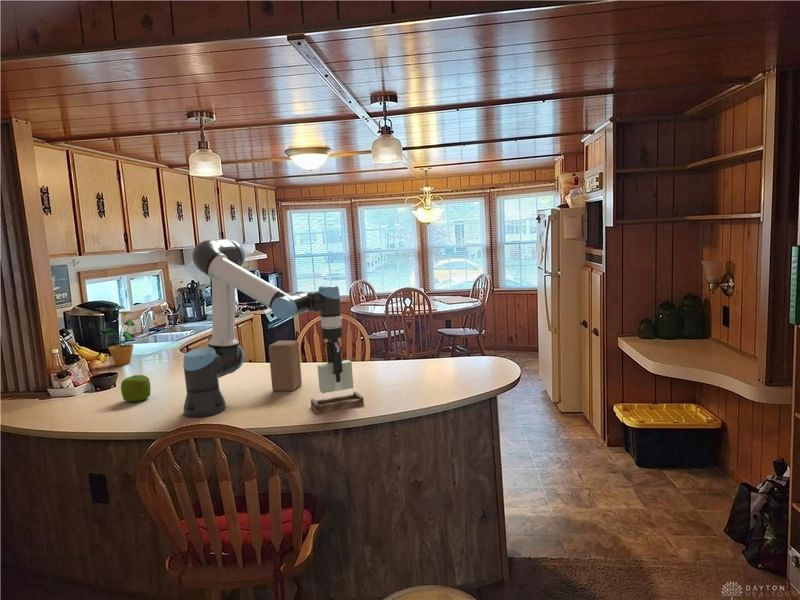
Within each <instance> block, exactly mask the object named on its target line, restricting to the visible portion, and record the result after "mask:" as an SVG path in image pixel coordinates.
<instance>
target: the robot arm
mask: <svg viewBox="0 0 800 600" xmlns="http://www.w3.org/2000/svg"><path fill="white" fill-rule="evenodd" d="M191 255H192V256H191V257H192V261H193V265H194V266H195V267H196V268H197V269H198V270H199V271H200V272H202V273H203V274H205V275H207V276H208V277H210V278H211V283H212V285H211V288H212V290H211V292H212V293H211V295H212V296H211V303H212V307H211V311H212V312H211V313H212V314H211V315H212V317H211V318H212V319H211V320H212V322H211V323H212V326H211V328H212V329H211V332H212V334H211V337H212V338H210V339H209V340H208V343H207V344H208V346H206V347H205V346H204V347H200V348H199V347H198V348H195V349H192V350H190V351H188V352H187V353H185V354H184V355H183V364H182V365H183V372H184V379H185V388H186V396H185V399H184V404H183V415H184V416H185V417H189V418H202V417H203V418H204V417H210V416H213V415H217V414H219V413H221V412H224V411H225V410H226V408H227V405H226V401H225V398H224V395H223V394H222V392H221V390H220V384H219V381H220V380H219V379H220V378H222V377H225V376H227V375H230V374H232V373H235V372H236V371H238V370H239V369H240V368H242V365H243V364H244V362H245V353H244V349H242V346H241V345H240V341H239V340H238V339H237V337H236V290H238V291H239V292H241V293H243V294H245V295H246V296H248V297H250V298H252V299H253V300H255V301H257V302H259V303H260V304H262V305H263V306H265V307H267V308H269V309H271V313H272V314H273V315H274V317H276V318H278V319H280V320H284V319H290V318H293V317H294V316H295V317H296V316H298V315H301V314H304V313H307V312H312V313H314V312H320V325H321V328H322V329H321V336H322V339H324V340H327V341H325V343H324V344H325V347H326V348H325V350H326V359H327V363H332V362H333V368H334V372H333V373H332V374H333V377H334V390H335V391H334V392H338V390H339V391H343V390H342V381H341V372H343V370H342V361H343V359H342V358H343V357H342V346H341V345H340V342H339V339H340V338H342V337H343V334H344V332H343V327H342V326H343V325H342V324H343V323H342V320H343V317H342V312H341V311H342V309H341V308H342V307H341V296H340V290H339V286H338V285H335V284H329V285H326V284H325V285H320V286H319V287H318V290H317V291H293V292H291V293H290V294H289V293H287V292H285V291H284V290H281V288H278V287H276V286H275V285H273V284H271V283H270V282H268V281H265V280H264V279H262V278H260V277H259V276H257V275H256V274H254V273H252V272H250V271H249V270H247V269H245V268H243V267H242V266H243V265H244V263H245V261H246V254H245V250H244V248H243V246H241V244H240V243H239V242H237V241H235V240H233V239H227V238H225V239H222V238H221V239H211V240H210V239H207V240H203V241H201V242H199V243H197V244H196V246H195V247H194V249H193V251H192V254H191Z"/></svg>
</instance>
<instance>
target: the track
mask: <svg viewBox="0 0 800 600" xmlns="http://www.w3.org/2000/svg"><path fill="white" fill-rule="evenodd" d="M364 401H365V400H364V396H363V395H361V394H360V393H359V392H357V391H353V393H352V394H346V395H340V396H333V397H328V398H322V399H317V400H315V398H310V407H311V408H312V410H313V409H314V410H313V411H314V413H316V414H317V415H318V414H322V413H328V412H334V411H339V410H345V409H350V408H355V407H361V406H365V402H364Z"/></svg>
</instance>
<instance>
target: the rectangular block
mask: <svg viewBox="0 0 800 600" xmlns="http://www.w3.org/2000/svg"><path fill="white" fill-rule="evenodd" d="M342 370H343V372H341V381H342V390H341V391H343V390H350V389H354V377H353V365H352V361H351V360H349V359H346V360H342ZM333 372H334V368H333V362H332V363H328V362H326V363H321V364H320V363H319V364H317V376H318V385H319V387H318V388H319V392H320V393H321V394H327V393H332V392H333V393H334V392H336V391H335V390H334V377H333V374H332V373H333ZM338 391H340V390H338ZM338 391H337V392H338Z"/></svg>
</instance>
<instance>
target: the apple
mask: <svg viewBox="0 0 800 600" xmlns="http://www.w3.org/2000/svg"><path fill="white" fill-rule="evenodd" d="M120 384H121V385H120V391H121V396H122V399H123V400H124V401H126V402H130V403H137V402H143V401H145V400H147V399H148V398H149V397H150V396H151V382H150V378H149V377H147V375H143V374H134V375H130V376H129V377H126V378H124V379H123V380H122V381H121V383H120Z"/></svg>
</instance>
